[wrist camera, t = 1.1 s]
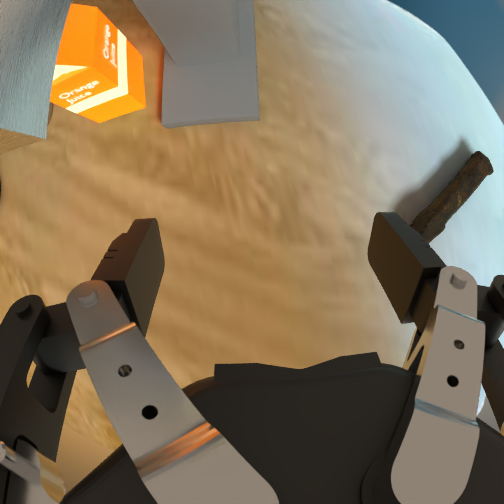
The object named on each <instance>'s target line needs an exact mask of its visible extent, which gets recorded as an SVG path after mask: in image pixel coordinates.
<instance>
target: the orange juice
mask: <svg viewBox="0 0 504 504" xmlns="http://www.w3.org/2000/svg"><path fill="white" fill-rule="evenodd" d="M50 102H52V103H55V104H57V105H59V106H62V107H64V108H66V109H68V110H70V111H72V112H75V113H78V114H80V115H82V116H85V117H87V118H89V119H91V120H94V121H96V122H98V123H101V122H103V121H106V120H109V119H112V118H115V117H117V116H120V115H123V114H126V113H129V112H132V111H136V110H139V109H142V108H145V107H146V104H145V92H144V78H143V62H142V56H141V55H140V53H139V52H138V51H137V50H136V49H135V48H134V47H133V46H132V45H131V43H130V42H129V41H128V40H127V39H126V37H125V36H124V35H123V34H122V33H121V32H120V31H119V30H118V29H117V28H116V27H115V26H114V25H113V24H112V23H111V22H110V21H109V19H108V18H107V17H106V16H105V15H104V14H103V13H102V12H101V11H100V10H99V9H98V7H92V6H86V5H79V4H72V3H71V5H70V9H69V12H68V15H67V19H66V22H65V26H64V30H63V34H62V38H61V42H60V46H59V51H58V55H57V60H56V65H55V71H54V76H53V82H52V89H51V96H50Z"/></svg>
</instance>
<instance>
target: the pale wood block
mask: <svg viewBox="0 0 504 504" xmlns="http://www.w3.org/2000/svg"><path fill="white" fill-rule="evenodd" d="M71 2H72V0H0V155H1V154H4V153H7V152H9V151H12V150H15V149H18V148H21V147H24V146H26V145H29V144H33V143H36V142H39V141H42V140H45V139H46V134H47V122H48V112H49V103H50V96H51V89H52V82H53V76H54V71H55V65H56V60H57V55H58V51H59V46H60V42H61V38H62V34H63V30H64V26H65V22H66V19H67V15H68V12H69V9H70V5H71Z"/></svg>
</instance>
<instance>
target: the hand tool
mask: <svg viewBox="0 0 504 504" xmlns="http://www.w3.org/2000/svg"><path fill="white" fill-rule="evenodd" d="M492 173H493V167H492V165H491V163H490V160H489V159H488V158H487V157H486V156H485V155H484V154H483V153H481V152H480V151H476V152H475V153H473V154H472V155H471V159H470V160H468V161H467V162H466V166H465V167H464V168H463V169H461V171H460V172H459V173H458V175H457V176H456V177H455V179H454V180H453V181H451V182H450V183H449V184H448V186H447V187H446V188H445V190H444V191H443V192H442V193H441V194H440V195H439V196H438V197H437V198H436V199H435V201H434V202H433V203H432V204H431V205H430V206H429V207H428V208H427V209H426V210H424V211H423V212H421V213H420V214H419V215H418V216H417V217H416V219H415V220H414V221H413V223H412V224H411V226H410V227H411V228H413V229H415V230H416V231H418V232H419V234H420V235H421V236H422V237H423V238H424V239H425V241H426V242H427V243H430V242H431V241H432V240H433V239H434V238H435V237H436V236H438V235H439V234H440V233H441V232H442V231H443V230H444V229H445V224H446V223H447V221H448V220H449V219H450V218H451V216H452V215H453V214H455V213H456V212H457V210H458V209H459V208H460V207H461V206H462V205H463V204H464V203H465V202H466V200H467V199H468V198H469V197H470V196H471V195H472V193H473V192H474V191H475V190H476V189H477V188H478V186H479V185H480V184H481V182H482V181H483V180H484V179H485V177H486V176H487V175H491V174H492Z"/></svg>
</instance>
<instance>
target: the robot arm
mask: <svg viewBox="0 0 504 504" xmlns="http://www.w3.org/2000/svg"><path fill="white" fill-rule="evenodd" d="M52 109H53V103H52V102H50V103H49V112H48V122H47V125H48V123H49V120H50V117H51V114H52ZM368 260H369V263H370V265H371V267H372V269H373V271H374V272H375V274H376V276H377V278H378V280H379V282H380V283H381V285H382V287H383V289H384V291H385V293H386V295H387V296H388V298H389V300H390V302H391V304H392V306H393V308H394V310H395V312H396V314H397V316H398V318H399V320H400V322H401V324H405V323H412V322H414V323H415V324H416V326H417V327H416V329H415V332H414V334H413V337H412V341H411V344H410V347H409V350H408V353H407V356H406V359H405V362H404V365H403V367H402V368H401V367H398V366H394V365H390V364H384V363H381V362H380V359H379V357H378V354H377V352H371V353H364V354H356V355H348V356H340V357H337V358H335V359H332V360H329V361H326V362H323V363H320V364H317V365H314V366H311V367H308V368H304V369H293V368H286V367H279V366H272V365H266V364H260V363H243V364H215V370H214V376H212V377H208V378H205V379H202V380H199V381H196V382H194V383H192V384H190V385H188V386H186V387H185V388H183V389H181V388H180V387H179V386H178V384H177V383H176V382H175V380H174V379H173V378H172V376H171V375H170V374H169V372H168V371H167V369H166V368H165V367H164V365H163V364H162V362H161V361H160V360H159V358H158V357H157V355H156V354H155V352H154V351H153V350H152V348H151V347H150V345H149V344H148V342H147V341H146V339H145V336H146V332H147V329H148V325H149V321H150V317H151V314H152V310H153V307H154V303H155V300H156V296H157V293H158V289H159V286H160V282H161V279H162V276H163V272H164V265H165V261H164V253H163V248H162V243H161V237H160V232H159V227H158V222H157V220H156V218H148V219H135V220H134V222H133V224H132V225H131V227H130V229H129V231H128V232H127V233H122V234H121V235H120V236H119V237H117V238H116V239H115V240H114V241H113V242H112V243H111V245H110V247H109V248H108V252H106V253H105V255H104V257H103V259H102V260H101V262H100V264H99V266H98V267H97V269H96V271H95V273H94V275H93V276H92V278H91V280H89V281H86V282H83V283H81V284H79V285H77V286H76V287H75V288H73V289H72V290H71V292H70V293H69V294H68V296H67V299H66V302H64V303H60V304H56V305H52V306H48V307H46V306H45V304H44V302H43V300H42V299H41V298H40V297H39V296H37V295H28V296H25V297H23V298H21V299H19V300H17V301H16V302H15V303H14V304H13V305H12V306H11V307H10V309H9V310H8V312H7V314H6V316H5V317H4V319H3V321H2V323H1V325H0V504H504V349H503V347H502V345H501V343H500V341H499V340H498V338H499V337H500V335H501V334H502V332H503V331H504V275H497V276H495V277H494V279H493V281H492V283H491V285H490V287H486V286H480V285H477V283H476V281H475V279H474V278H473V276H472V275H471V274H469V273H468V272H467V271H465V270H463V269H461V268H458V267H454V266H446V265H445V263H444V262H443V261H442V260H441V258H440V257H439V256H438V255H437V254H436V252H435V251H434V250H433V249H432V248H430V245H429V244H428V243H427V242H426V241H425V239H424V238H423V237H422V236H421V235H420V234H419V232H418V231H416V230H415V229H413V228H411V227H410V226H408V225H407V224H406V223H405V222H404V221H403V219H402V218H401V217H400V216H399V215H398V214H397V213H395V212H378V213H376V215H375V217H374V222H373V227H372V232H371V236H370V241H369V246H368ZM32 361H34V363H35V364H36V365H37V366H36V368H35V371H34V374H33V377H32V379H31V382H30V385H29V388H28V387H27V381H26V379H27V374H28V371H29V368H30V366H31V363H32ZM85 368H86V369H87V371H88V374H89V376H90V378H91V381H92V383H93V385H94V388H95V390H96V392H97V394H98V396H99V398H100V401H101V403H102V405H103V407H104V409H105V411H106V413H107V415H108V417H109V419H110V421H111V423H112V425H113V427H114V429H115V430H116V432H117V434H118V436H119V438H120V440H121V441H122V443H123V444H122V445H121V446H119V447H118V448H117V449H116V450H115V451H114V452H113V453H112V454H111V455H110V456H109V457H107V459H105V460H104V461H103V462H102V463H101V464H100V465H99V466H97V467H96V468H95V469H94V470H93V471H92V472H91V473H90V474H88V475H87V476H86V477H85V478H84V479H83V480H82V481H80V482H79V483H78V484H77V485H76V486H75V487H74V488H72V490H70V491H69V492H68V493H67V494H66V495H65V494H64V493H65V491H66V487H65V484H64V483H63V478H62V474H61V471H60V469H59V468H58V466H57V465H56V463H55V462H56V456H57V451H58V445H59V440H60V436H61V431H62V426H63V422H64V418H65V413H66V409H67V405H68V401H69V397H70V394H71V390H72V386H73V383H74V379H75V375H76V372H77V370H80V369H85ZM481 383H482V386H483V388H484V390H485V393H486V395H487V398H488V400H489V403H490V405H491V408H492V410H493V413H494V416H495V418H496V421H497V424H498V427H499V429H500V433H499V432H497V431H496V430H495V429H493V428H492V427H490V426H489V425H487V424H486V423H484V422H483V421H481V420H480V419H479V418H477V417H476V414H477V408H478V402H479V396H480V388H481Z"/></svg>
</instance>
